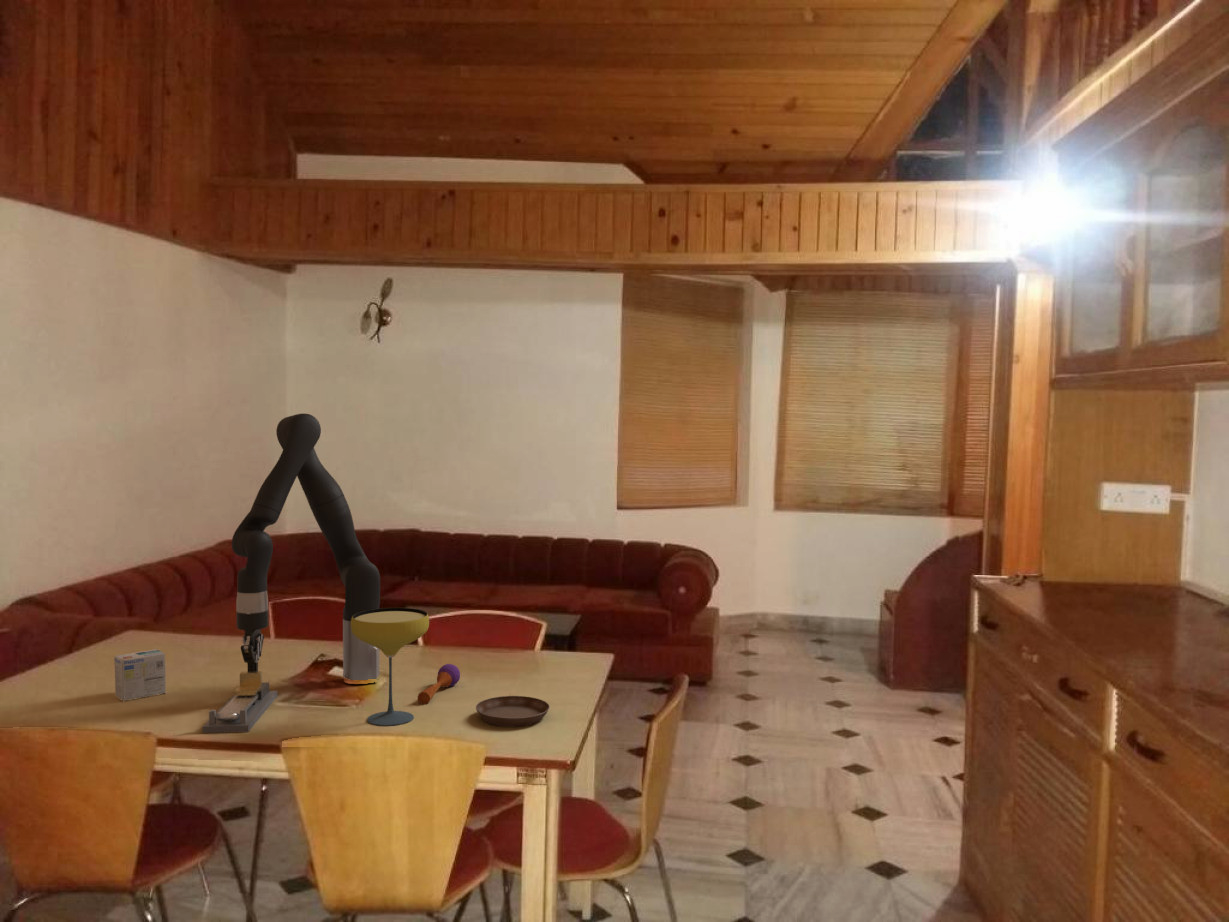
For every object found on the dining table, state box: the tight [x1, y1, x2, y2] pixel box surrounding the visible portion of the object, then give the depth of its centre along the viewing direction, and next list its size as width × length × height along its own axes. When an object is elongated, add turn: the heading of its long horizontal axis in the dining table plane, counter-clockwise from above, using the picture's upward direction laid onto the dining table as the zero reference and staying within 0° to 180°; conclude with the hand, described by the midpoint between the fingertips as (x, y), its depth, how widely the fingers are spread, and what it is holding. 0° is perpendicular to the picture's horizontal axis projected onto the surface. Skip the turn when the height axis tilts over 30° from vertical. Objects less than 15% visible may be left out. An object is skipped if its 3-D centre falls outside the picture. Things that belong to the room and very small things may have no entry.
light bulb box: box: [114, 648, 167, 701], centre depth 249 cm, size 11×7×11 cm, turn 135°
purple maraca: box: [417, 663, 461, 705], centre depth 254 cm, size 6×6×20 cm
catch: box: [233, 670, 263, 696], centre depth 240 cm, size 7×5×4 cm
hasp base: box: [202, 681, 278, 734], centre depth 234 cm, size 28×10×4 cm, turn 6°
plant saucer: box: [475, 695, 550, 728], centre depth 234 cm, size 18×18×3 cm
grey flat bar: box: [217, 694, 258, 721], centre depth 230 cm, size 18×5×2 cm, turn 6°
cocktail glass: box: [351, 607, 430, 727], centre depth 231 cm, size 18×18×25 cm
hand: (252, 676), depth 245 cm, fingers closed
